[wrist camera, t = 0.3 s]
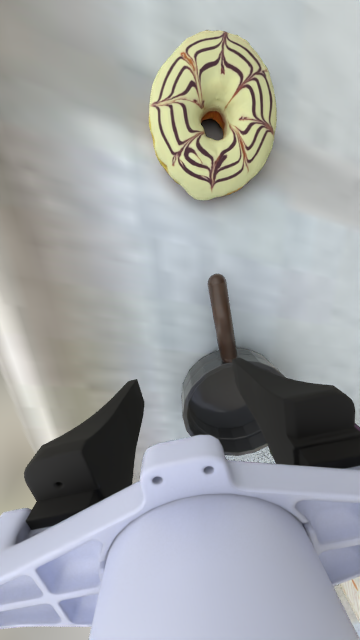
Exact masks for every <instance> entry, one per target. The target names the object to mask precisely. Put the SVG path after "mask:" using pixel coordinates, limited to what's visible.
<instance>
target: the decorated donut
mask: <svg viewBox="0 0 360 640" xmlns="http://www.w3.org/2000/svg"><path fill="white" fill-rule="evenodd" d="M149 111H150V113H149V126H150V131H151V134H152V137H153V144H154V149H155V153H156V156H157V158H158V160H159V162H160V164H161V165H162V166H163V167H164V169H165V170H166V171H167V173H168V174H169V175H170V176H171V177H172V178H173V180H174V181H175V182H176V183H178V184H179V185H181V186H182V187H183V188H184V189H185V190H186V192H187V193H188V194H189V195H190V196H192V197H193V198H194V199H197V200H210V199H212V198H215V197H221V196H226V195H229V194H231V193H233V192H236V191H238V190H239V189H241V188H242V187H243V186H244V185H245V184H246V183H248V182H249V180H251V179H252V178H253V177H254V176H256V175H257V173H258V172H259V171H260V170H261V169H262V167H263V166H264V164H265V162H266V160H267V158H268V156H269V154H270V151H271V149H272V146H273V141H274V134H275V129H276V120H277V119H276V112H277V111H276V101H275V94H274V89H273V85H272V82H271V78H270V75H269V72H268V69H267V67H266V66H265V65H264V64H263V62H262V60H261V58H260V57H259V55H258V54H257V52H256V51H255V50H254V49H253V48H252V47H251V46H250V44H249V43H248V42H247V41H246V40H245V39H242V38H241V37H239V36H238V35H232V34H229V33H227V32H224V31H209V30H206V31H203V32H200V33H198V34H196V35H194V36H192V37H189V38H187V39H186V40H185V41H184V42H183V43H182V44H181V45H180V46H179V47H178V48H177V49H176V50H175V52H174V53H173V54H172V55H171V57H169V59H168V60H167V61H166V62H165V63H164V64H163V66H162V67H161V68H160V70H159V72H158V74H157V76H156V78H155V80H154V82H153V85H152V91H151V97H150V105H149ZM206 119H213V120H216V121H217V123H218V124H219V125H220V127H221V128H222V130H223V138H222V139H221V140H218V141H217V140H213V139H211V138H208V137H206V135H205V131H204V129H203V127H202V125H201V122H202V120H206Z"/></svg>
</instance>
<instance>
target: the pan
mask: <svg viewBox="0 0 360 640" xmlns="http://www.w3.org/2000/svg"><path fill="white" fill-rule="evenodd" d="M236 351H237V358H242V359H244V360H246V361H248V362H250V363H251V364H253V365H255V366H257V367H259V368H261V369H263V370H266V371H268V372H270V373H273V374H276V375H279V376H281V377H285V376H284V375H283V374H282V373H281V372H280V371H279V370H278V369H277V368H276V367H275V366H274V365H273V364H271V363H270V362H269V361H268V360H267V359H266V358H265V357H264V356H263V355H261V354H259V353H256V352H254V351H251V350H249V349H242V348H236ZM285 378H286V377H285ZM181 399H182V414H183V420H184V424H185V427H186V430H187V432H188V433H189V435H190V436H196V435H211V436H213V437H215V438H217V439H218V440H219V441H220V443H221V445H222V447H223V450H224V454H225V455H233V456H239V455H244V454H249V453H254V452H256V451H258V450H260V449H263V448H265V447H267V446H268V444H267V442H266V440H265V438H264V436H263V434H262V431H261V429H260V427H259V425H258V423H257V421H256V420H255V418H254V416H253V415H252V413H251V411H250V410H249V408H248V406H247V405H246V403H245V401H244V400H243V398H242V396H241V394H240V392H239V390H238V387H237V385H236V382H235V376H234V370H233V363H232V362H231V363H226V362H223V361H222V359H221V357H220V351H219V350H218V351H215V352H213V353H211V354H209V355H207V356H205V357H203V358H202V359H200V360H199V361H198V362H197V363H196V364H195V365H194V366H193V367H192V368H191V369H190V370H189V372H188V374H187V376H186V378H185V380H184V382H183V387H182V395H181Z"/></svg>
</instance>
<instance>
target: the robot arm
mask: <svg viewBox="0 0 360 640" xmlns="http://www.w3.org/2000/svg"><path fill="white" fill-rule="evenodd" d="M232 363H233V370H234V376H235V382H236V385H237V387H238V390H239V392H240V394H241V396H242V398H243V400H244V401H245V403H246V405H247V406H248V408H249V410H250V411H251V413H252V415H253V416H254V418H255V420H256V421H257V423H258V425H259V427H260V429H261V431H262V434H263V436H264V438H265V440H266V442H267V444H268V447H269V449H270V451H271V453H272V456H273V458H274V460H275V463H276V464H271V463H257V462H244V461H230V460H227V459H226V458H225V454H224V450H223V447H222V445H221V443H220V441H219V440H218V439H217V438H215V437H213V436H211V435H196V436H191V437H187V438H182V439H177V440H172V441H167V442H162V443H158V444H155V445H153V446H151V447H149V448H148V449H147V450H146V452H145V453H144V455H143V461H142V467H141V474H140V481H138V482H136V483H134V484H132V478H133V468H134V459H135V451H136V445H137V441H138V436H139V432H140V427H141V423H142V418H143V412H144V400H143V397H142V393H141V390H140V387H139V384H138V381H137V379H136V380H131V381H129V382H127V383H126V384H125V385H124V386H123V387H122V388H121V390H120V391H119V392H118V393H117V394H116V395H115V396H114V397H113V398H112V399H111V400H110V401H109V402H108V403H107V404H106V405H104V406H103V407H102V408H101V409H100V410H99V411H98V412H96V413H95V414H94V415H93V416H91V417H90V418H89V419H87V420H86V421H84V422H83V423H81V424H80V425H79V426H77V427H75V428H74V429H72V430H71V431H69V432H67V433H66V434H64V435H62V436H60V437H58V438H56V439H54V440H52V441H50V442H48V443H46V444H44V445H42V446H41V448H40V449H39V450H38V452H37V453H36V454H35V456H34V457H33V459H32V460H31V461H30V463H29V464H28V465H27V467H26V469H25V472H24V478H25V481H26V483H27V486H28V487H29V489H30V490H31V492H32V494H33V496H34V497H35V499H36V501H37V502H36V504H35V506H34V507H33V509H32V510H31V509H29V508H22V509H17V510H12V511H7V512H4V513H3V514H2V515H1V516H0V629H4V628H15V627H33V626H60V627H61V626H62V627H91V631H90V635H89V640H360V639H359V637H358V635H357V633H356V631H355V629H354V627H353V625H352V623H351V621H350V619H349V617H348V615H347V613H346V611H345V609H344V607H343V605H342V603H341V601H340V599H339V597H338V595H337V593H336V591H335V589H334V586H336V585H339V584H341V583H344V582H347V581H349V580H352V579H354V578H357V577H359V576H360V431H359V430H358V429H357V428H356V427H354V424H355V407H354V403H353V401H352V400H351V399H350V398H349V397H348V396H347V395H345V394H344V393H343V392H341V391H340V390H339V389H337V388H336V387H334V386H333V385H322V384H313V383H307V382H301V381H296V380H292V379H288V378H285V377H281V376H279V375H276V374H273V373H270V372H268V371H266V370H263V369H261V368H259V367H257V366H255V365H253V364H251V363H250V362H248V361H246V360H244V359H242V358H235V359H232Z"/></svg>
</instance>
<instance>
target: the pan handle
mask: <svg viewBox="0 0 360 640" xmlns="http://www.w3.org/2000/svg"><path fill="white" fill-rule="evenodd" d="M208 289H209V294H210V300H211V306H212V311H213V317H214V323H215V329H216V334H217V340H218V346H219V351H220V357H221V359H222V361H223V362H226V363H231V362H232V359H235V358H237V351H236V344H235V337H234V330H233V324H232V317H231V310H230V304H229V297H228V290H227V283H226V279H225V277H224V276H223V275H221V274H214V275H212V276H211V277H210V278H209V280H208Z"/></svg>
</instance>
